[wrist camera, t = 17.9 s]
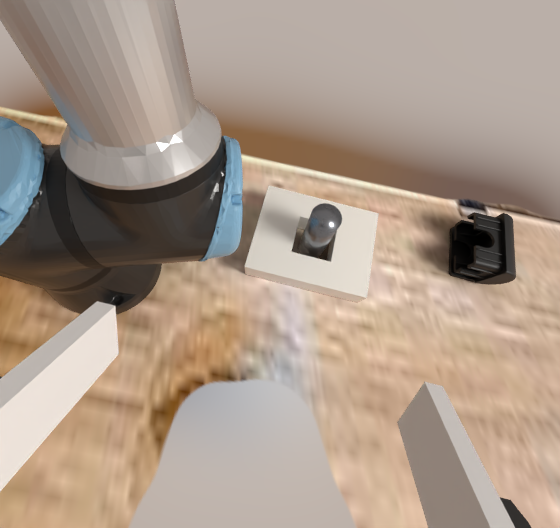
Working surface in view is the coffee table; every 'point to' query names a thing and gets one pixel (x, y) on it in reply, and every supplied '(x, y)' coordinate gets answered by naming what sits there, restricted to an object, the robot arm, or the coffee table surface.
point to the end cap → (483, 249)
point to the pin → (319, 229)
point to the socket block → (304, 269)
